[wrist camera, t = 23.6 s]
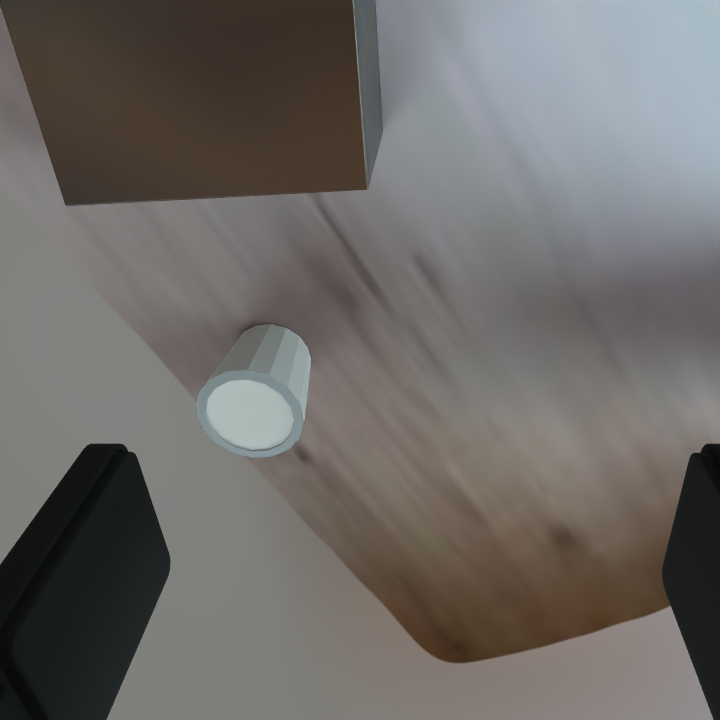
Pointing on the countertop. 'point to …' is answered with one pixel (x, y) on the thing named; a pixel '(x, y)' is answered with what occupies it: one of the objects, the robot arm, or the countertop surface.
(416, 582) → the countertop surface
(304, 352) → the shot glass
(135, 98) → the lid
